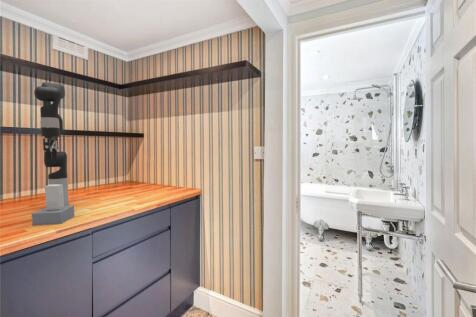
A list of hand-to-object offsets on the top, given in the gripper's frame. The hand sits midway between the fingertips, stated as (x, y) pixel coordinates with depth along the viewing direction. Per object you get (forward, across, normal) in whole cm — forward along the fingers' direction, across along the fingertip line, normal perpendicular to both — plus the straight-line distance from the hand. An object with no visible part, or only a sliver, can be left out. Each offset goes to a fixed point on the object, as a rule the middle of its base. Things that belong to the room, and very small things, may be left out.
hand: (51, 158), depth 119 cm
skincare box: (+25, +8, +2) cm, 26 cm away
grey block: (+30, +8, +2) cm, 32 cm away
